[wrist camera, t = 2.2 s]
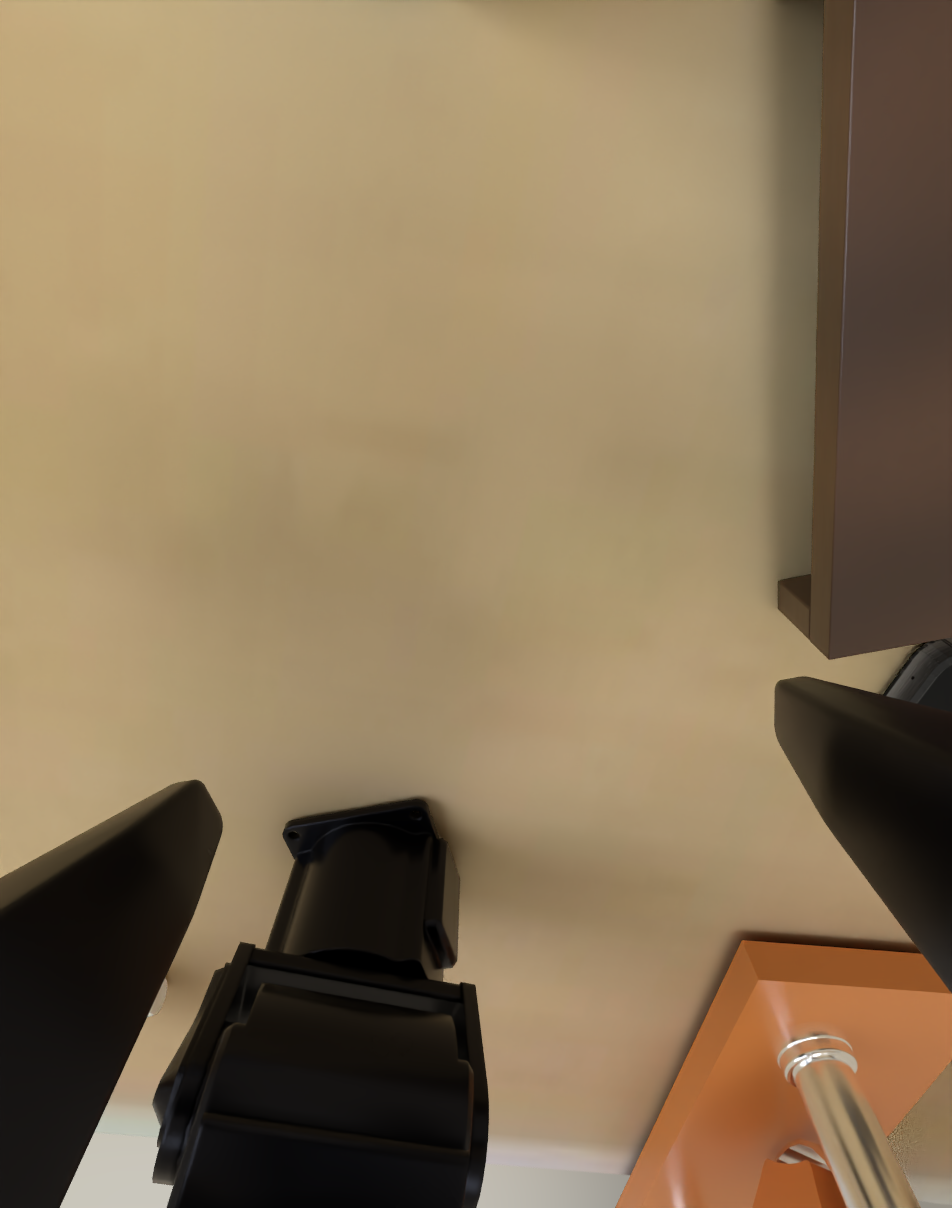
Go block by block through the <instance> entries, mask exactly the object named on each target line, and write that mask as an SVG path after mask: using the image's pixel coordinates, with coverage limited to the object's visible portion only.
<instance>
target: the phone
mask: <svg viewBox="0 0 952 1208" xmlns="http://www.w3.org/2000/svg"><path fill="white" fill-rule="evenodd" d="M883 695H884V696H888V697H892V698H896V699H900V700H904V701H909V702H913V703H917V704H921V705H925V706H929V707H933V708H937V709H941V710H945V711H949V712H952V637H951V638H946V639H940V640H935V641H930V642H928V643H926V644H925V645H923V646H922V647H920V648H919V649H918V650H917V651H916V652H915V653H914V654H913V655H912V656H911V658H910V659H909V660H908V662H907V663H906V664H905V666H904V667H903V668H902V670H901V671H900V673H899V674H898V675H897V677H896V678H895V679H894V681H893V682H892V684H891V685H890V686H889V688H888V689H887V690H886V692H885V693H884V694H883Z"/></svg>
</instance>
